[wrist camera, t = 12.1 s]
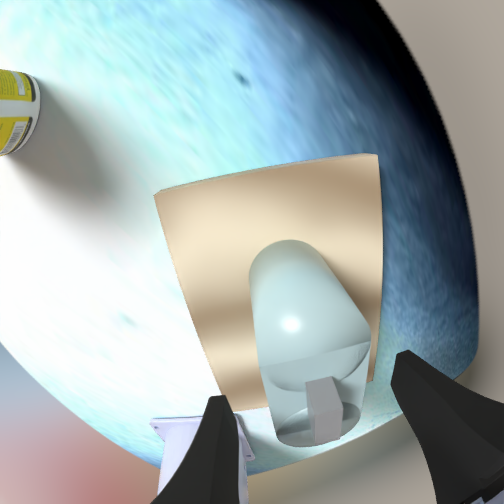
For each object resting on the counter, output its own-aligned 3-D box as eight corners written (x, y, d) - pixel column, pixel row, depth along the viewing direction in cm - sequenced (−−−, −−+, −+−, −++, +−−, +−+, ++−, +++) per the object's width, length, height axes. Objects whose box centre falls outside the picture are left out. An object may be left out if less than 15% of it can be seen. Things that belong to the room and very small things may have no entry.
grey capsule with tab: (328, 362, 17) (365, 458, 10) (269, 375, 17) (285, 478, 10) (321, 232, 14) (397, 321, 7) (241, 247, 14) (251, 357, 7)
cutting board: (366, 367, 20) (372, 380, 18) (229, 397, 20) (229, 412, 19) (364, 153, 14) (377, 154, 12) (161, 190, 14) (153, 195, 13)
